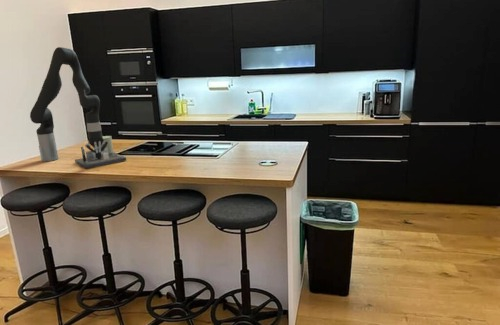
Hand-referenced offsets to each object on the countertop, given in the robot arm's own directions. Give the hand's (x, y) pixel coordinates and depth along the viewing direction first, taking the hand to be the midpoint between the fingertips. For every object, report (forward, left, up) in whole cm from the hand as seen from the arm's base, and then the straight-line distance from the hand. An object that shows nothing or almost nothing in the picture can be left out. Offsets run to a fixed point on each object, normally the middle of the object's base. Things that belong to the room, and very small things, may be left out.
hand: (98, 158), depth 212 cm
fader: (+4, 0, -1) cm, 4 cm away
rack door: (+3, +10, -1) cm, 11 cm away
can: (+13, +24, -4) cm, 27 cm away
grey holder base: (+3, +6, -4) cm, 7 cm away
